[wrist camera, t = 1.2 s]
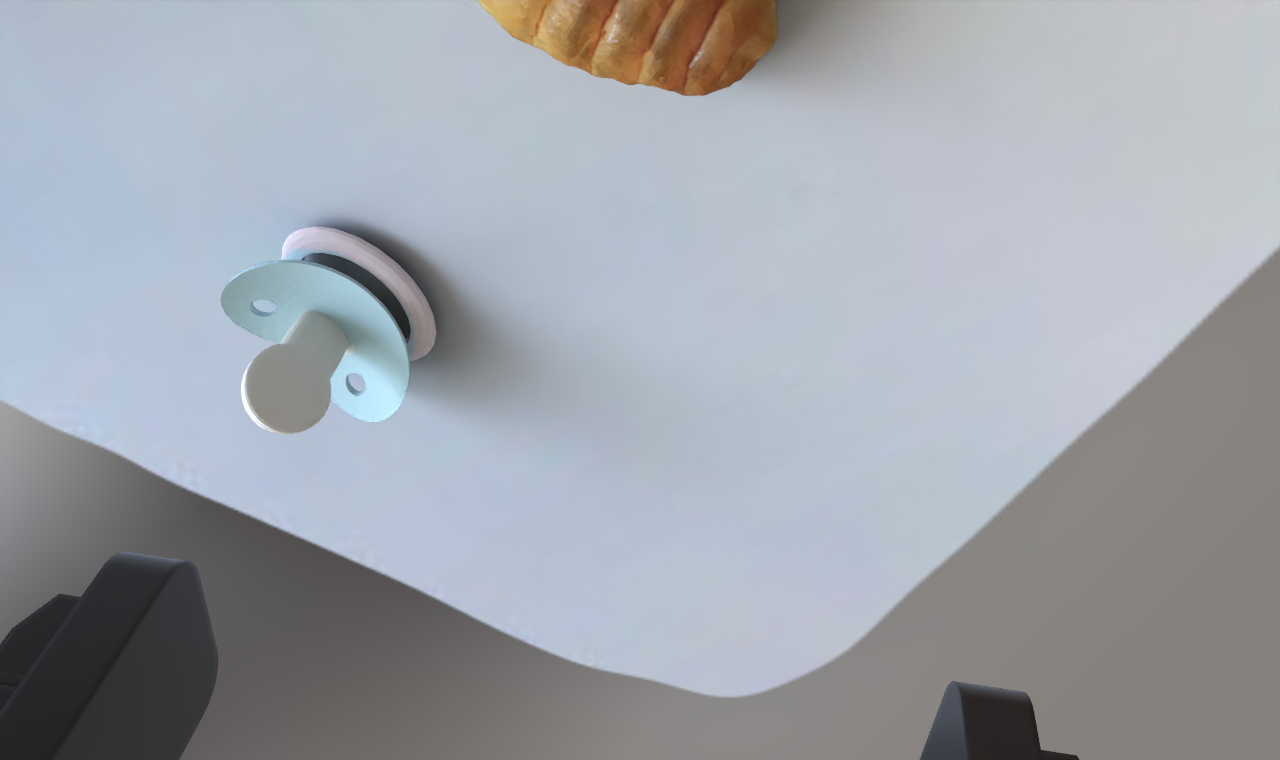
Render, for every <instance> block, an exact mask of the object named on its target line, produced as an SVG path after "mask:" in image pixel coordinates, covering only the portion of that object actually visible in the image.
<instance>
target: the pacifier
mask: <svg viewBox="0 0 1280 760" xmlns="http://www.w3.org/2000/svg"><path fill="white" fill-rule="evenodd" d="M313 253H327V254H333V255H337V256H340V257H342V258H345V259H347V260H350V261H352V262H354V263H356V264H358V265H359V266H361V267H363V268H365V269H366V270H368V271H369V272H370V273H372V274H373V275H374V276H375V277H377V278H378V279H379V280H381V281H382V282H383V283H384V284H385V285H386V287H387V288H388V289H389V290H390V291H391V292H392V293H393V294H394V295H395V297H396V298H397V299H398V301H399V302H400V304H401V305H402V307H403V309H404V311H405V313H406V315H407V317H408V319H409V324H410V328H411V333H410V337H408V338H406V339H405V338H404V336H403V334H402V332H401V330H400V328H399V326H398V324H397V322H396V321H395V319H394V318H393V316H392V315H391V313H390V312H389V311H388V309H387V308H386V307H385V306H384V304H383V303H382V302H381V301H380V300H379V299H378V298H377V297H376V296H375V295H374V294H373V293H371V292H370V291H369V290H368V289H367V288H365V287H364V286H363V285H361V284H360V283H359V282H357V281H356V280H354V279H353V278H351V277H349V276H347V275H345V274H343V273H341V272H339V271H337V270H335V269H333V268H330V267H327V266H324V265H321V264H317V263H314V262H308V261H305V257H306V256H308V255H309V254H313ZM261 299H263V300H268V301H271V302H273V303H274V304H275V305H276V308H277V309H276V311H273V312H262V311H259V310H257V309H256V308H255V307H254V306H253V301H256V300H261ZM221 305H222V307H223V309H224V312H225V313H226V314H227V316H228V317H229V318H230V319H231V320H232V321H233V322H234V323H236V324H237V325H238V326H240V327H242V328H243V329H245V330H247V331H249V332H250V333H252V334H254V335H257V336H259V337H261V338H264V339H267V340H270V341H273V342H277V343H280V344H277V345H273V346H270V347H268V348H266V349H264V350H263V351H261V352H260V353H258V354H257V355H256V356H255V358H254V359H253V360H252V361H251V362H250V364H249V365H248V367H247V369H246V371H245V374H244V376H243V380H242V385H241V394H242V401H243V404H244V407H245V409H246V411H247V413H248V415H249V416H250V417H251V419H252V420H253V421H254V422H255V423H256V424H257V425H259V426H260V427H262V428H263V429H265V430H267V431H270V432H273V433H277V434H295V433H299V432H302V431H305V430H307V429H309V428H310V427H312V426H314V425H315V424H316V423H317V422H319V421H320V419H321V418H322V417H323V416H324V414H325V413H326V411H327V409H328V406H329V403H330V398H331V399H332V400H333V401H334V402H335V403H336V404H337V405H338V406H339V407H340V408H342V409H343V410H344V411H345V412H346V413H348V414H350V415H351V416H353V417H355V418H357V419H360V420H363V421H367V422H377V421H382V420H384V419H386V418H388V417H389V416H391V415H392V414H393V413H394V412H395V411H396V410H397V408H398V407H399V406H400V404H401V402H402V400H403V398H404V396H405V393H406V390H407V386H408V383H409V379H410V371H411V365H410V361H415V360H417V359H419V358H421V357H423V356H425V355H427V354H428V353H429V351H430V350H431V349H432V347H433V346H434V343H435V338H436V326H435V320H434V315H433V312H432V310H431V308H430V306H429V304H428V301H427V299H426V297H425V296H424V294H423V293H422V291H421V290H420V289H419V287H418V286H417V284H416V283H415V281H414V280H413V279H412V278H411V277H410V276H409V275H408V274H407V273H406V272H405V271H404V270H403V269H402V268H401V267H400V266H399V264H398V263H396V262H395V261H394V260H393V259H391V258H390V257H389V256H387V255H386V254H385V253H384V252H382V251H381V250H380V249H378V248H377V247H375V246H373V245H371V244H370V243H368V242H366V241H364V240H363V239H361V238H359V237H357V236H355V235H352V234H349V233H347V232H344V231H341V230H338V229H334V228H327V227H321V226H316V227H308V228H301V229H299V230H297V231H295V232H294V233H292V234H290V235H289V236H288V238H287V240H286V241H285V243H284V245H283V248H282V260H275V261H269V262H265V263H261V264H258V265H255V266H252V267H250V268H247V269H245V270H244V271H242V272H240V273H239V274H237V275H236V276H235V277H234V278H233V279H232V280H231V281H230V282H229V283H228V284H227V285H226V287H225V288H224V290H223V292H222V296H221ZM352 372H355V373H358V374H360V375H361V376H362V377H363V378H364V380H365V383H366V390H365V391H362V392H359V391H357V390H355V389H354V388H353V387H352V386H351V385H350V383H349V380H348V374H349V373H352Z"/></svg>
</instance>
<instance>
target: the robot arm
mask: <svg viewBox="0 0 1280 760" xmlns="http://www.w3.org/2000/svg"><path fill="white" fill-rule="evenodd" d="M217 669H218V653H217V647H216V643H215V639H214V635H213V631H212V627H211V623H210V618H209V614H208V610H207V606H206V602H205V597H204V594H203V589H202V586H201V581H200V577H199V573H198V570H197V568H196V567H195V565H194V564H193V563H191V562H188V561H182V560H176V559H169V558H162V557H156V556H149V555H142V554H136V553H130V552H120V553H117V554H115V555H114V556H112V557H111V558H110V559H109V560H108V561H107V562H106V563H105V565H104V566H103V567H102V568H101V570H100V571H99V573H98V574H97V576H96V577H95V578H94V580H93V581H92V583H91V584H90V585H89V587H88V588H87V590H86V591H85V592H84V594H83V595H82V597H77V596H70V595H64V594H59V595H57V596H56V597H54V598H53V599H52V600H51V601H49V602H48V603H47V604H45V605H43V606H42V607H41V608H40V609H38V610H37V611H36V612H34V613H33V614H31V615H30V616H29V617H27V618H26V619H25V620H23V621H22V622H21V623H19V624H18V625H16V626H15V627H14V628H12V629H11V631H10V632H9V633H8V635H7V636H6V638H5V639H4V640H3V641H2V643H1V644H0V760H179V759H180V757H181V755H182V753H183V752H184V750H185V748H186V746H187V744H188V742H189V740H190V738H191V737H192V735H193V733H194V731H195V729H196V727H197V725H198V724H199V722H200V720H201V718H202V716H203V714H204V712H205V710H206V708H207V706H208V704H209V701H210V699H211V696H212V693H213V690H214V686H215V682H216V677H217ZM920 760H1079V758H1078V757H1077V756H1076V755H1070V754H1063V753H1057V752H1050V751H1044V750H1041V749H1040V743H1039V737H1038V732H1037V726H1036V720H1035V716H1034V710H1033V705H1032V703H1031V700H1030V698H1029V696H1028V695H1027V694H1026V693H1025V692H1020V691H1014V690H1007V689H1001V688H994V687H988V686H981V685H974V684H968V683H962V682H955V681H953V682H951V683H950V684H949V685H948V687H947V689H946V691H945V693H944V696H943V699H942V701H941V704H940V707H939V709H938V712H937V715H936V717H935V720H934V723H933V725H932V728H931V731H930V734H929V736H928V739H927V741H926V744H925V747H924V750H923V752H922V755H921V757H920Z"/></svg>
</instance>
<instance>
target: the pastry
mask: <svg viewBox="0 0 1280 760" xmlns="http://www.w3.org/2000/svg"><path fill="white" fill-rule="evenodd" d="M478 2H479V3H480V5H481V7H482V8H483V9H484V10H485V11H487V12H488V13H489V14H491V15H492V16H493V17H494V18H495V20H496V21H497V22H498V23H499V24H500V25H501V26H502V28H504V29H505V30H506V31H507V32H508V33H509V34H510V35H511V36H512V37H514V38H516V39H518V40H520V41H523V42H525V43H528V44H530V45H532V46H534V47H536V48H539V49H541V50H543V51H545V52H546V53H548V54H549V55H550V56H552V57H553V58H555V59H557V60H559V61H560V62H562V63H564V64H566V65H567V66H573V67H577V68H580V69H582V70H584V71H586V72H588V73H590V74H591V75H593V76H596V77H600V78H612V79H615V80H617V81H620V82H622V83H625V84H628V85H634V84H643V85H647V86H655V87H658V88H662V89H665V90H668V91H674V92H677V93H679V94H682V95H686V96H695V95H700V96H703V95H707V94H710V93H712V92H715V91H717V90H720V89H723V88H726V87H729V86H731V85H732V84H733V83H734V82H736V81H739V80H741V79H742V78H743V77H744V76H745V75H746V73H747V72H749V71H750V70H751V69H752V68H753V67H754V66H755V64H756V63H757V62H758V60H759V59H760V58H761V57H763V56H764V55H766V54H767V53H768V51H769V50H770V49H771V48H772V46H773V45H774V43H775V41H776V39H777V32H778V21H777V11H776V0H478Z"/></svg>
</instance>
